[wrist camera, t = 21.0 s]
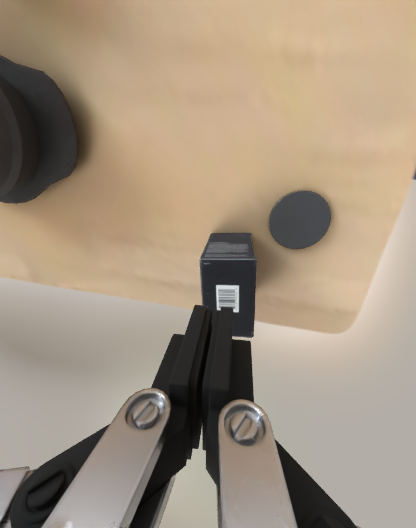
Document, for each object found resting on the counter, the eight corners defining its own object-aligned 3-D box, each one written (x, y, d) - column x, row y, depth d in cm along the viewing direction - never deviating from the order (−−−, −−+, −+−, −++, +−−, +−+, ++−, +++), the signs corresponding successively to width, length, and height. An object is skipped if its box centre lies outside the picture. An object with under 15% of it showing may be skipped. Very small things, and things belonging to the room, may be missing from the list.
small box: (200, 336, 29) (211, 294, 38) (254, 339, 28) (250, 295, 37) (196, 257, 25) (208, 232, 34) (257, 258, 24) (253, 232, 33)
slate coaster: (335, 190, 30) (336, 191, 29) (323, 249, 33) (324, 250, 32) (272, 189, 31) (272, 190, 30) (266, 246, 34) (266, 247, 33)
